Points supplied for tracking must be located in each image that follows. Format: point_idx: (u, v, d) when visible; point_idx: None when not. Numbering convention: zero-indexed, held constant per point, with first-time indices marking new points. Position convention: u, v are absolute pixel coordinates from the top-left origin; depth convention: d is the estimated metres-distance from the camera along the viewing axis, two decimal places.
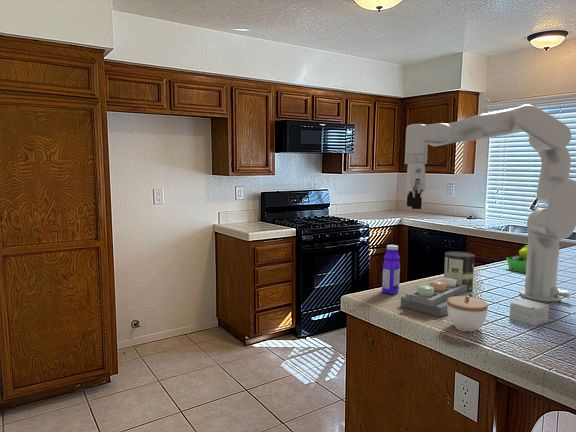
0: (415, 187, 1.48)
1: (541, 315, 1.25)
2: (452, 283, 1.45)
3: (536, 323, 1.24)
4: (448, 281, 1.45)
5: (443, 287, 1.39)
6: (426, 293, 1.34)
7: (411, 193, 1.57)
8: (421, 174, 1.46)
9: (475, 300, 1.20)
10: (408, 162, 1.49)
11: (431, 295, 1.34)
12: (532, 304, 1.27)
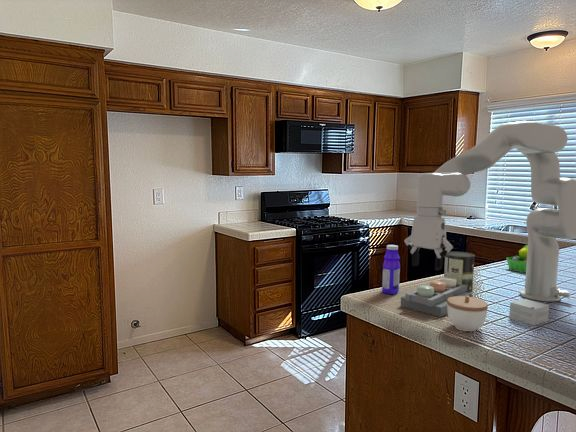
0: None
1: (540, 315, 1.25)
2: (452, 283, 1.45)
3: (536, 323, 1.24)
4: (448, 281, 1.45)
5: (443, 287, 1.39)
6: (426, 293, 1.34)
7: None
8: (445, 229, 1.31)
9: (475, 300, 1.20)
10: (431, 217, 1.30)
11: (431, 295, 1.34)
12: (531, 303, 1.27)
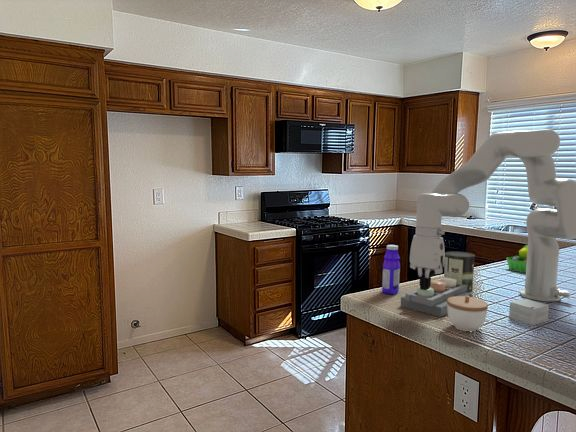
0: None
1: (540, 315, 1.25)
2: (452, 283, 1.45)
3: (535, 322, 1.24)
4: (448, 281, 1.45)
5: (443, 287, 1.39)
6: (426, 294, 1.34)
7: (422, 272, 1.36)
8: (443, 250, 1.32)
9: (475, 300, 1.20)
10: (430, 237, 1.30)
11: (431, 296, 1.34)
12: (531, 303, 1.28)
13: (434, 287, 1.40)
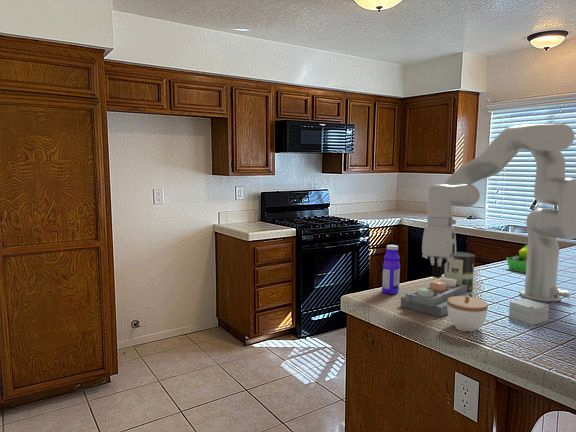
0: None
1: (540, 315, 1.25)
2: (452, 283, 1.45)
3: (535, 322, 1.24)
4: (448, 281, 1.45)
5: (443, 287, 1.39)
6: (426, 296, 1.34)
7: (434, 261, 1.40)
8: (455, 239, 1.36)
9: (475, 300, 1.20)
10: (441, 226, 1.35)
11: None
12: (531, 303, 1.28)
13: (434, 287, 1.40)
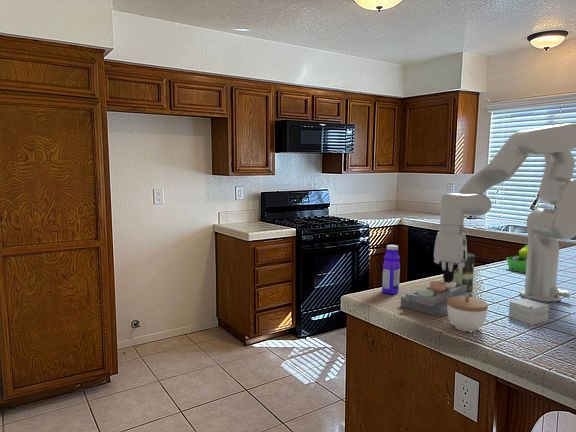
0: None
1: (539, 315, 1.25)
2: (452, 286, 1.45)
3: (534, 322, 1.24)
4: (448, 284, 1.45)
5: (443, 287, 1.39)
6: (426, 296, 1.34)
7: (446, 266, 1.47)
8: (466, 245, 1.43)
9: (475, 300, 1.20)
10: (453, 233, 1.41)
11: None
12: (531, 303, 1.28)
13: (434, 287, 1.40)
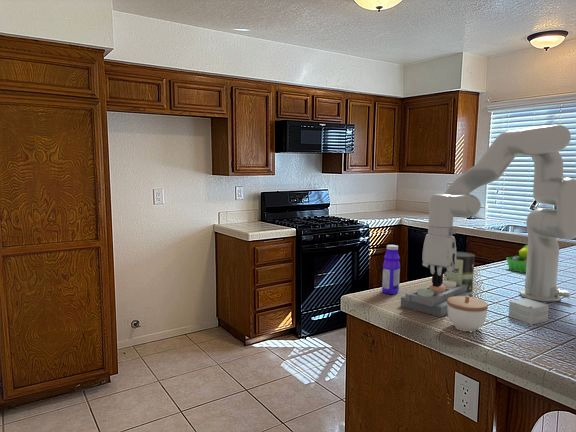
0: None
1: (539, 315, 1.25)
2: (452, 286, 1.45)
3: (534, 322, 1.24)
4: (448, 284, 1.45)
5: (443, 290, 1.39)
6: (426, 296, 1.34)
7: (435, 270, 1.41)
8: (455, 248, 1.37)
9: (475, 300, 1.20)
10: (442, 236, 1.36)
11: None
12: (531, 303, 1.28)
13: (434, 290, 1.40)
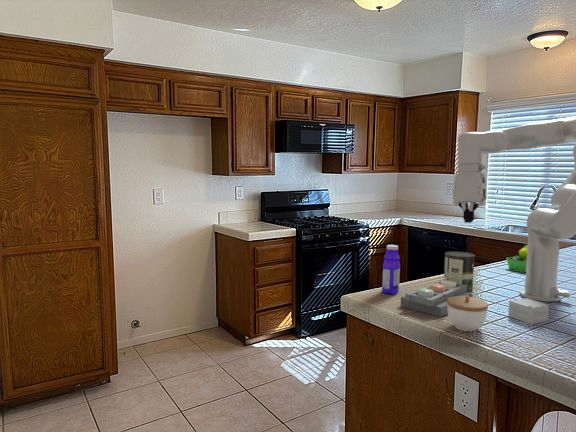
0: None
1: (538, 314, 1.25)
2: (452, 286, 1.45)
3: (533, 322, 1.25)
4: (448, 284, 1.45)
5: (443, 290, 1.40)
6: (426, 296, 1.34)
7: (465, 207, 1.47)
8: (485, 183, 1.43)
9: (475, 300, 1.20)
10: (472, 172, 1.41)
11: None
12: (531, 303, 1.28)
13: (434, 290, 1.40)
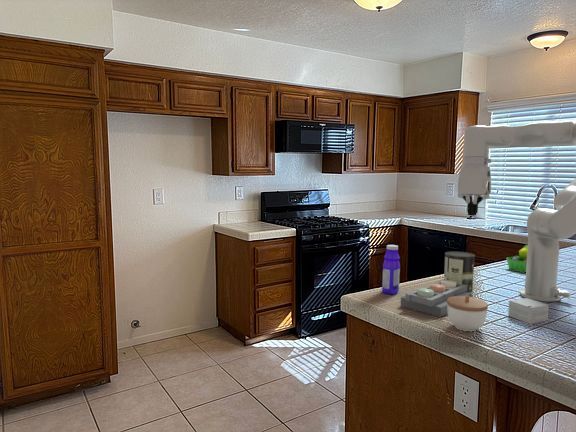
0: None
1: (538, 314, 1.25)
2: (452, 286, 1.45)
3: (532, 321, 1.25)
4: (448, 284, 1.45)
5: (443, 290, 1.40)
6: (426, 296, 1.34)
7: (470, 200, 1.48)
8: (490, 177, 1.44)
9: (475, 300, 1.20)
10: (478, 165, 1.43)
11: None
12: (530, 302, 1.28)
13: (434, 290, 1.40)
